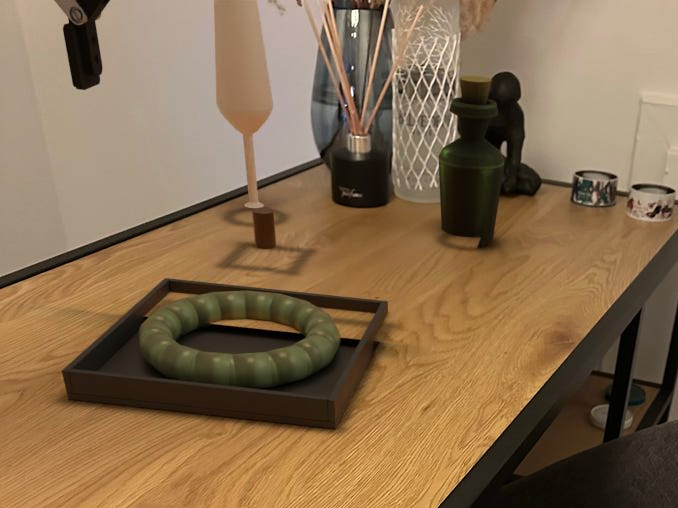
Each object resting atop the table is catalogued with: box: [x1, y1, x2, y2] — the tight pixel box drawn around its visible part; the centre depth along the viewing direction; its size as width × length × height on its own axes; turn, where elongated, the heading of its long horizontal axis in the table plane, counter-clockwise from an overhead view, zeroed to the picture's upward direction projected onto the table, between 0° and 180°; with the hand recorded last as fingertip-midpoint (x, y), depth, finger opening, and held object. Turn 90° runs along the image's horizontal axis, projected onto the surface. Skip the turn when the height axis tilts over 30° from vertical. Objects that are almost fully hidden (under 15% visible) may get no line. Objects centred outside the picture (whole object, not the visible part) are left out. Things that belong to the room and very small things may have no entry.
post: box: [251, 207, 277, 250], centre depth 108 cm, size 8×8×5 cm
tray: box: [61, 277, 389, 430], centre depth 87 cm, size 23×23×3 cm
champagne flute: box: [213, 0, 274, 209], centre depth 114 cm, size 7×7×24 cm
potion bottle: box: [437, 75, 505, 249], centre depth 114 cm, size 8×8×18 cm
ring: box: [138, 291, 342, 389], centre depth 87 cm, size 18×18×3 cm
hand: (23, 79), depth 69 cm, fingers open, 9 cm apart
